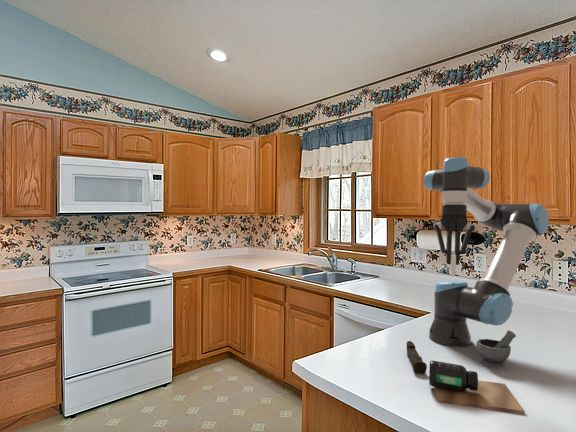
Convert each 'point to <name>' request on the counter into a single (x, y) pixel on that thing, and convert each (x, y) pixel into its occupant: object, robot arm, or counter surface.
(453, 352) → the counter surface
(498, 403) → the cutting board
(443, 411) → the counter surface
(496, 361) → the mortar and pestle
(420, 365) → the hand tool
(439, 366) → the supplement bottle
